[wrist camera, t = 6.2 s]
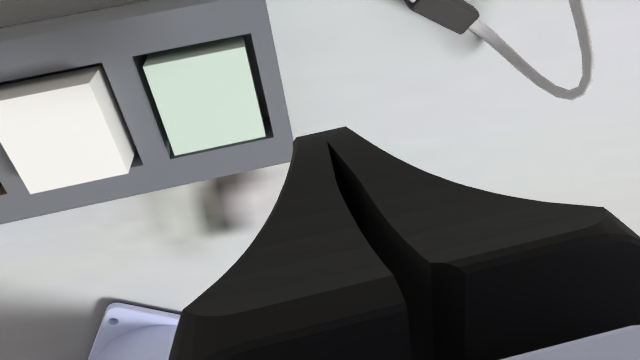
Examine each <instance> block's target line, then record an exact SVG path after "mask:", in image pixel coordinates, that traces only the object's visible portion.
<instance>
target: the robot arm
mask: <svg viewBox="0 0 640 360" xmlns="http://www.w3.org/2000/svg"><path fill="white" fill-rule="evenodd" d="M111 318H116V319H111ZM87 360H640V237H639V236H638V235H637V234H636V233H634V232H633V231H632V230H631V229H630V228H628V227H627V226H626V225H625V224H624V223H622V222H621V221H620V220H619V219H618V218H616V217H615V216H614V215H613V214H612V213H610V212H609V211H608V210H606V209H605V208H604V207H595V206H584V205H572V204H561V203H550V202H542V201H535V200H529V199H523V198H517V197H511V196H506V195H501V194H496V193H492V192H488V191H484V190H480V189H476V188H472V187H468V186H465V185H462V184H458V183H455V182H452V181H449V180H446V179H444V178H441V177H438V176H435V175H433V174H430V173H428V172H425V171H423V170H420V169H418V168H416V167H414V166H412V165H410V164H408V163H406V162H404V161H402V160H400V159H398V158H396V157H394V156H392V155H390V154H389V153H387V152H385V151H383V150H382V149H380V148H378V147H377V146H375V145H373V144H372V143H370V142H369V141H367V140H365V139H364V138H362V137H361V136H359V135H358V134H356V133H355V132H353V131H352V130H350V129H349V128H347V127H341V128H337V129H332V130H328V131H323V132H319V133H314V134H310V135H305V136H301V137H296V139H295V140H294V141H293V153H292V159H291V163H290V167H289V170H288V173H287V177H286V180H285V183H284V185H283V188H282V190H281V192H280V195H279V197H278V200H277V202H276V204H275V206H274V208H273V210H272V212H271V214H270V216H269V217H268V219H267V221H266V222H265V224H264V226H263V227H262V229H261V230H260V232H259V233H258V235H257V236H256V238H255V239H254V241H253V242H252V243H251V245H250V246H249V247H248V249H247V250H246V251H245V253H244V254H243V255H242V256H241V257H240V258H239V259H238V260H237V262H236V263H235V264H234V265H233V266H232V267H231V268H230V269H229V270H228V271H227V272H226V273H225V274H224V275H223V276H222V277H221V278H220V279H219V280H218V281H217V282H215V283H214V284H213V285H212V286H211V287H210V288H208V289H207V290H206V291H205V292H204V293H203V294H201V295H200V296H199V297H198V298H197V299H195V300H194V301H193V302H192V303H191V304H189V305H188V306H187V307H186V308H184V309H183V311H182V312H181V315H178V314H173V313H168V312H163V311H158V310H153V309H148V308H143V307H138V306H133V305H128V304H123V303H112V304H110V305H108V307H107V309H106V311H105V314H104V317H103V319H102V322H101V325H100V327H99V330H98V333H97V335H96V338H95V341H94V343H93V346H92V349H91V351H90V354H89V357H88V359H87Z"/></svg>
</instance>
